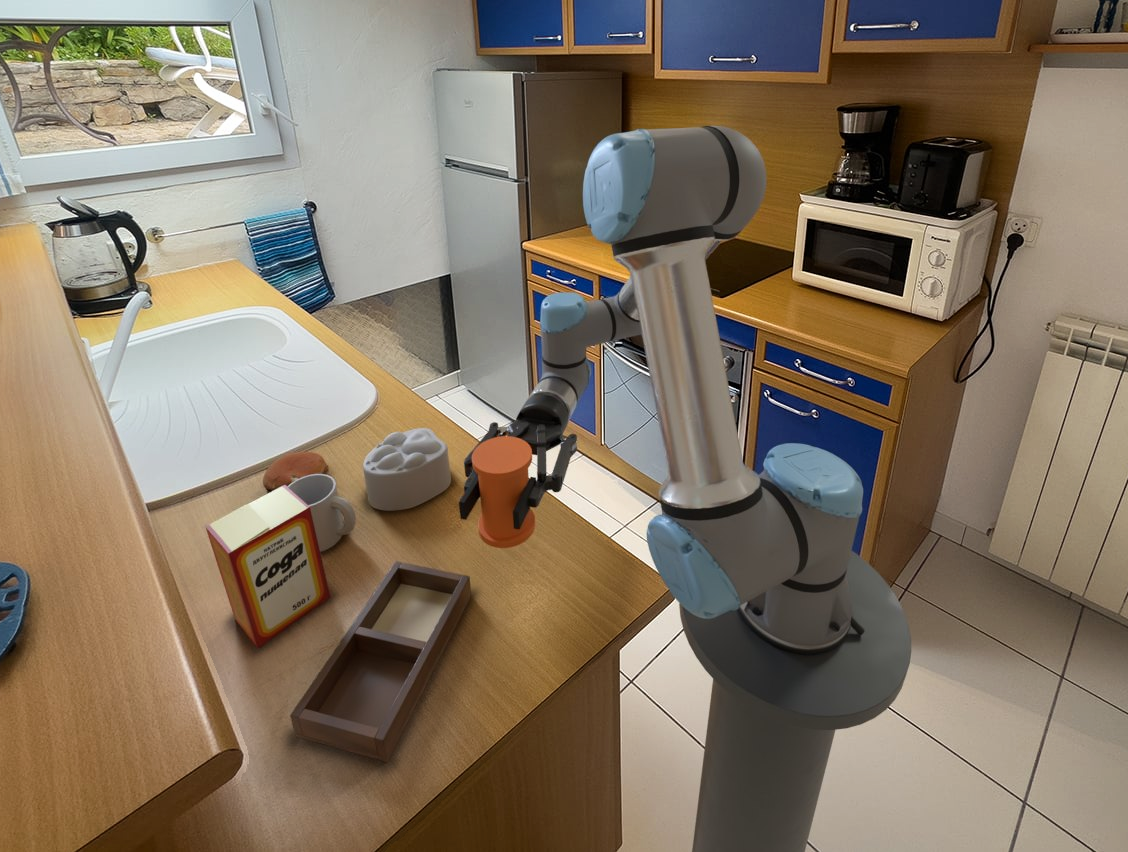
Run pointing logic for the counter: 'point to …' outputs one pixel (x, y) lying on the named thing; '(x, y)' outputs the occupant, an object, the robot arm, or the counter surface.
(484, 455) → the spool
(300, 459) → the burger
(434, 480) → the lumpy-topped squat cylinder
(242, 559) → the baking soda box
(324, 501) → the cup
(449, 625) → the divided tray
